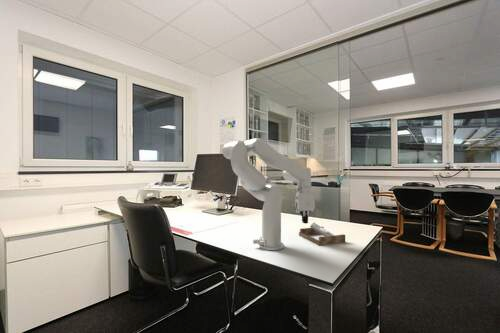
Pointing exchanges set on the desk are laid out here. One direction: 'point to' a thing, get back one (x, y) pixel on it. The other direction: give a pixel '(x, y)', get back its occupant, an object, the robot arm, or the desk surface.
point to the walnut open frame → (322, 240)
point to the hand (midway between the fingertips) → (305, 222)
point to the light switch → (321, 230)
